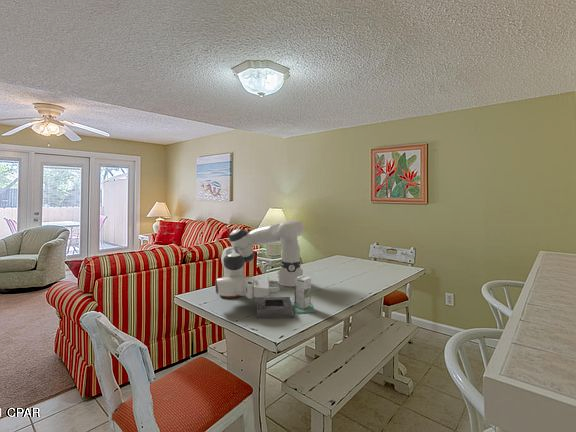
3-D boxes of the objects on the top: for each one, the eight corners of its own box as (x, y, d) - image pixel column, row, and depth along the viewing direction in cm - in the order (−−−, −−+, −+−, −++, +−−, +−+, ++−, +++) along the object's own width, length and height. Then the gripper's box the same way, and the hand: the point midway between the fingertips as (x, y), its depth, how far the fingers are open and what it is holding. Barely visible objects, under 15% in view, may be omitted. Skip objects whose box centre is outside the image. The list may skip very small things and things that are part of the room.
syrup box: (301, 303, 153) (301, 275, 152) (310, 306, 149) (311, 277, 148) (294, 306, 148) (294, 277, 147) (303, 309, 144) (304, 279, 143)
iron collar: (257, 305, 151) (257, 297, 151) (289, 304, 152) (289, 296, 152) (256, 318, 135) (256, 309, 135) (292, 317, 136) (293, 308, 136)
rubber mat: (290, 302, 155) (290, 301, 155) (310, 302, 156) (310, 301, 156) (293, 313, 141) (293, 312, 141) (315, 312, 142) (315, 311, 142)
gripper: (250, 286, 156) (277, 285, 157) (248, 300, 136) (279, 299, 137) (250, 273, 156) (277, 273, 157) (248, 286, 135) (280, 285, 137)
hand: (278, 285), depth 147 cm, fingers open, 8 cm apart
